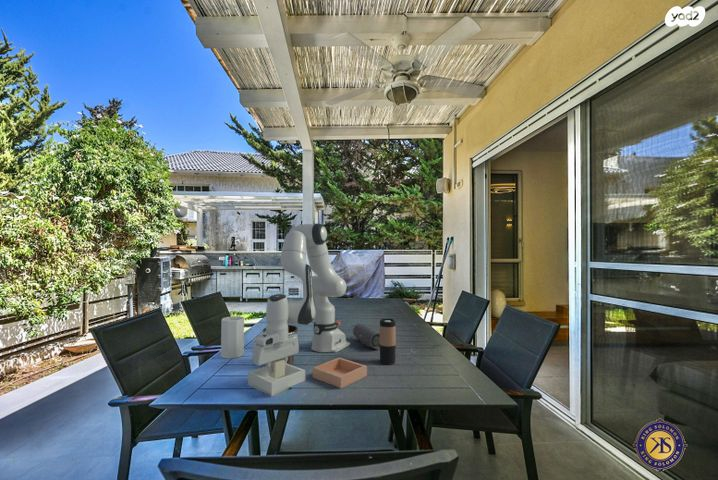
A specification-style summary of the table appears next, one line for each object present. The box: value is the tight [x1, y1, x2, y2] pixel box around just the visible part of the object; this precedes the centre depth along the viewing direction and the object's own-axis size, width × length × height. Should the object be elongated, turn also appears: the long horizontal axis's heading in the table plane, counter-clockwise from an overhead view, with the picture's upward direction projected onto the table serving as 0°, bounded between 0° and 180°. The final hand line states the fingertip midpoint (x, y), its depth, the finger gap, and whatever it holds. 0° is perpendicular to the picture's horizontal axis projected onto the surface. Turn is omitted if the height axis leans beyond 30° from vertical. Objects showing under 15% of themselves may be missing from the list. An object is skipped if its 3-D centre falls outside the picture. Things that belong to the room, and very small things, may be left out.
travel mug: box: [379, 318, 397, 366], centre depth 154 cm, size 8×8×20 cm
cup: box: [220, 315, 245, 360], centre depth 163 cm, size 11×11×18 cm
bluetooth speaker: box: [352, 323, 380, 349], centre depth 181 cm, size 23×9×10 cm, turn 25°
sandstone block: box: [269, 359, 285, 379], centre depth 129 cm, size 4×4×6 cm
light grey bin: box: [247, 363, 306, 397], centre depth 129 cm, size 16×16×5 cm
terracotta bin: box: [312, 357, 368, 389], centre depth 135 cm, size 16×16×5 cm
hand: (276, 370), depth 130 cm, fingers closed on sandstone block, 4 cm apart
